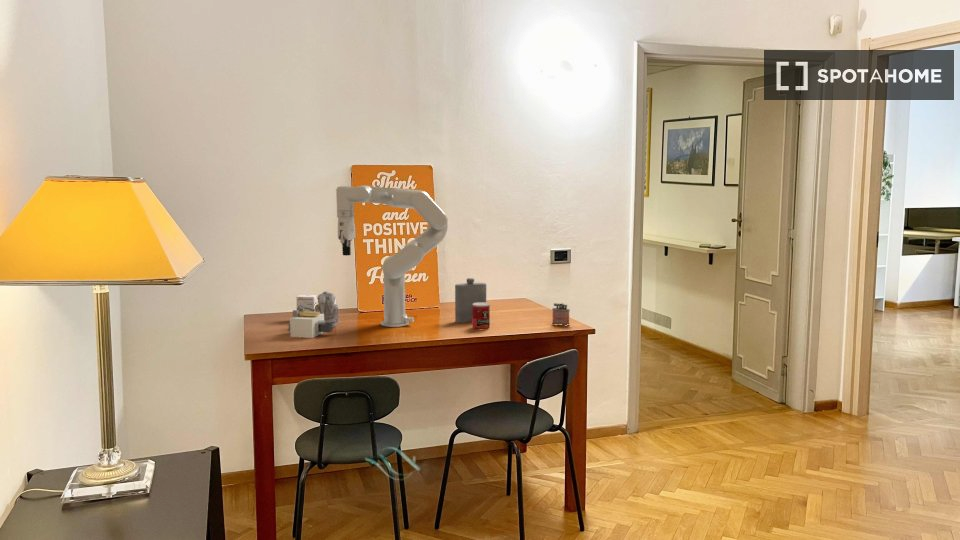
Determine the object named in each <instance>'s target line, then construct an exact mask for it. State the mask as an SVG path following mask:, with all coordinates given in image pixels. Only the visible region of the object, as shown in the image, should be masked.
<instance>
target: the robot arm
mask: <svg viewBox="0 0 960 540" xmlns="http://www.w3.org/2000/svg"><path fill="white" fill-rule="evenodd" d="M335 190H336V191H335V193H336V196H335V197H336V198H335V199H336V218H337V239H338V240H339V241H340V244H341V248H342V249H341V251H342V256H351V254H352V251H351V250H352V249H351V245H352V241H353V240H354V239H355V238H356V225H355V203H359V204H364V203H371V204H380V205H385V206H389V207H392V208H401V209H412V210H415V211H416V212H417V213H418V214H419V215H420V217H421V218H422V219H423V220H424V221H425V222H426V224H428V227H427V228H426V229H425V231H423V232H422V233H421V234H419V235H418V236H417V237H415V238H414V239H413V240H411V241H409V242H408V243H406V244H405V245H404V246H403V248H401V249H399V250H398V252H395V253H394V254H393V255H389V256H387V257H386V258H385V259H384V262H383V264H382V274H383V319H384V320H382V321H380V325H381V326H382V327H387V328H401V327H406V326H408V325H410V323H414V321H415V318H414V317H413V316H408V313H406V295H405V294H406V288H405V287H406V283H405V282H406V277H405V276H406V275H405V274H407V273H408V272H409V271H411V270H412V269H413V268H415V267H416V266H417V265H419V264H420V263H421V262H422V260H423V259H424V256H426V255H427V254H428V253H430V252H431V251H432V250H433V249H435V248H436V247H437V246H439V245H440V244H441V243H442V241H443V240H444V239H445V237H446V235H447V231H448V220H449V219H448V216H447V214H446V213H445V211H443V210H442V209H441V208H440V207H439V205H438V204H437V203H436V202H435V201H434V200H433V199H432V197H431V196H430V194H429V193H428V192H427V191H424V190H420V189H412V188H409V189H408V188H400V187H382V186H373V185H359V186H348V185H347V186H346V185H342V186H337V187H336V189H335ZM409 322H410V323H409Z"/></svg>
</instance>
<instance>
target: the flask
mask: <svg viewBox="0 0 960 540" xmlns="http://www.w3.org/2000/svg"><path fill="white" fill-rule="evenodd" d="M454 298H455V299H454V305H455V306H454V310H455V311H454V313H455V314H454V315H455V317H454V319H455V320H454V321H455V323H457V324H464V323H463V322H466V323H472V305H473V303H477V302H485V303H487V283H485V282H475V278H474V277H469V278H466V282H465V283H456V284H455V286H454Z"/></svg>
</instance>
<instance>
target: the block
mask: <svg viewBox="0 0 960 540" xmlns="http://www.w3.org/2000/svg"><path fill="white" fill-rule="evenodd" d="M299 310H302V311H304V308H299ZM321 320H324V314H320V315H318V316H302V315H298V310H297V309H296V310H295V309H293V310H292V317H290V318H289V322H290V331H289V332H290V338H302V337H303V338H304V339H305V338H306V339H314V338H315V337H317V336H319V335H321V334H323V333H324V332H322V333H320V334H316V330H315V323H316V322H319V321H321ZM303 338H302V339H303Z"/></svg>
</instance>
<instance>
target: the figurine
mask: <svg viewBox="0 0 960 540" xmlns="http://www.w3.org/2000/svg"><path fill="white" fill-rule="evenodd" d="M335 301H336V296H335V294H334V293H332V292H329V291H323V292H322V293H320V294H318V295H317V305H316V306H315V311H316V312H320V314H324V323H332V329H333V328H335V327H336V326H337V325H338V323H339V305H338V304H335Z"/></svg>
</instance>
